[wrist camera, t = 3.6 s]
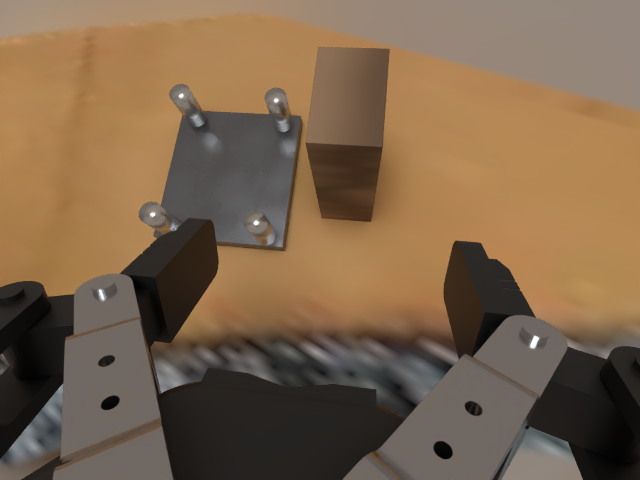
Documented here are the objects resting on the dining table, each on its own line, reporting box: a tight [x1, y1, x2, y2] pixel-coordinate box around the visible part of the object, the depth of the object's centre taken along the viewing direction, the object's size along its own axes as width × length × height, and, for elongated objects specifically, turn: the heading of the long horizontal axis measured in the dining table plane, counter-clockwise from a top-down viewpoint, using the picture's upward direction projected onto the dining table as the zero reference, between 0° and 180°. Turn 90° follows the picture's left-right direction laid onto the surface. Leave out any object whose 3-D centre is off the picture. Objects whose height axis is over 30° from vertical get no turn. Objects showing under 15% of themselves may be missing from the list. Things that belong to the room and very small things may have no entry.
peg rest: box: [139, 84, 302, 251], centre depth 26 cm, size 9×10×4 cm
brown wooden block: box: [305, 47, 390, 222], centre depth 22 cm, size 3×5×10 cm, turn 174°
